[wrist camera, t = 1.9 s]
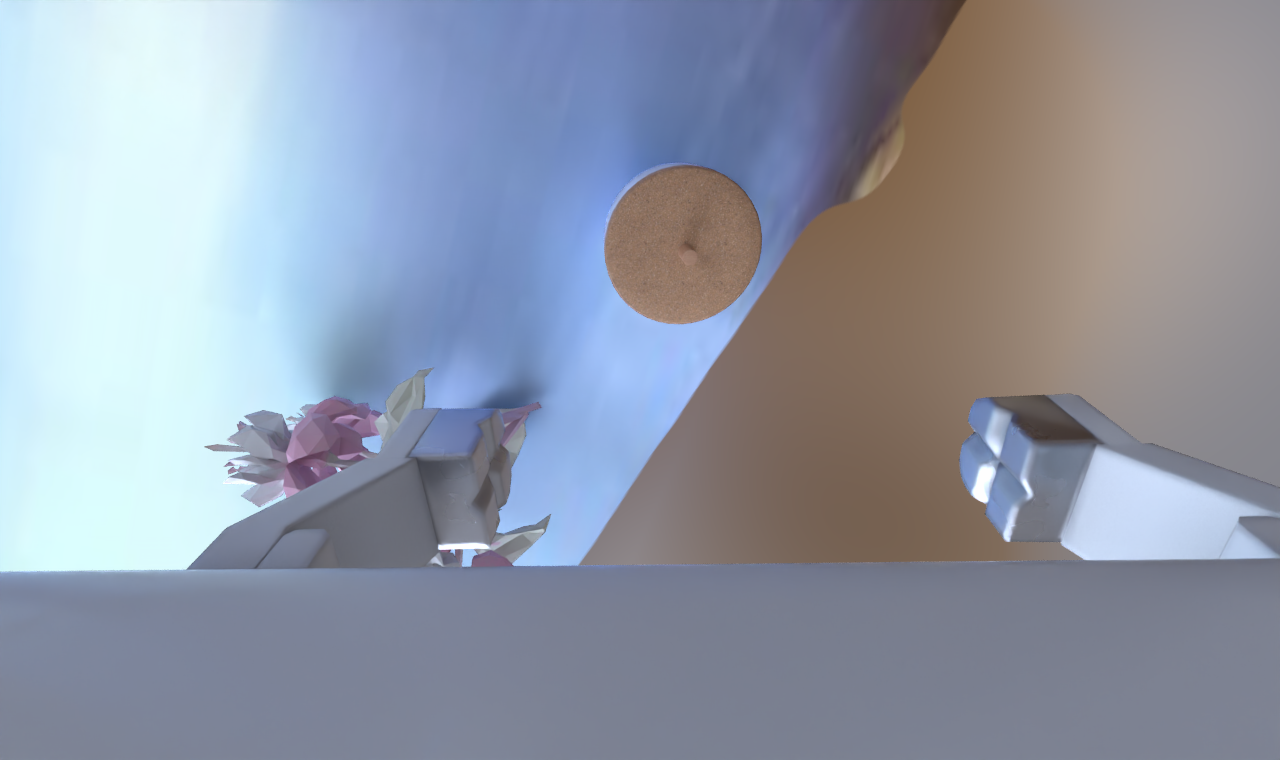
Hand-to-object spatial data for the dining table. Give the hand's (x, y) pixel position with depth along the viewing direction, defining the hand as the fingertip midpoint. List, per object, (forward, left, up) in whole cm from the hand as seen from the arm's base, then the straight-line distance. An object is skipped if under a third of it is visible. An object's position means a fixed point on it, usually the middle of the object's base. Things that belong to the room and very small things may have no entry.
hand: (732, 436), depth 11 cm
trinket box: (+8, +1, -38) cm, 39 cm away
